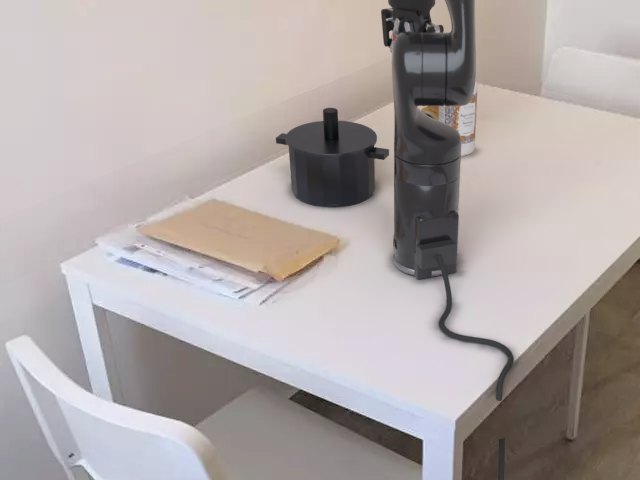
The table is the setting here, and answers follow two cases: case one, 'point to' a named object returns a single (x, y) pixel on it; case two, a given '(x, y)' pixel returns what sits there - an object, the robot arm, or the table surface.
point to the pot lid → (331, 137)
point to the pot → (333, 176)
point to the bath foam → (462, 122)
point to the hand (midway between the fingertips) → (411, 80)
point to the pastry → (432, 112)
